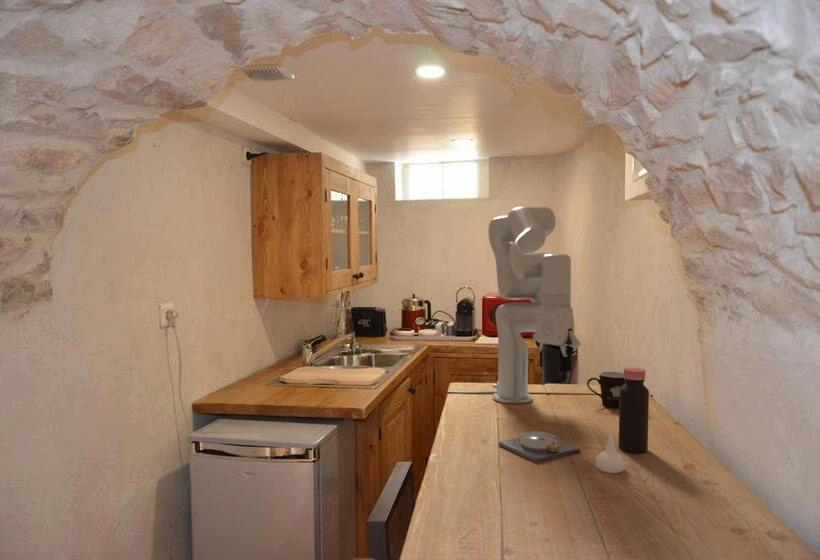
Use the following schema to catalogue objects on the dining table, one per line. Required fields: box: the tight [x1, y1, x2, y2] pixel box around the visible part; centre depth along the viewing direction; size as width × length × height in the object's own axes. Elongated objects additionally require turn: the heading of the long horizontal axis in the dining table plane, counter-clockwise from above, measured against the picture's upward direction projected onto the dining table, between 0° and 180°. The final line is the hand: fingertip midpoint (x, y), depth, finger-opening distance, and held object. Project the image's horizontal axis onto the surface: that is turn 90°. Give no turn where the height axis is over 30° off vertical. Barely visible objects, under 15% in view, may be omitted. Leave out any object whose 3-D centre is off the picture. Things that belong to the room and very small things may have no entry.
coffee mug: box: [586, 371, 625, 410], centre depth 187 cm, size 12×9×10 cm
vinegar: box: [618, 367, 650, 454], centre depth 147 cm, size 7×7×20 cm
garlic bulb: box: [595, 434, 626, 474], centre depth 135 cm, size 6×6×8 cm
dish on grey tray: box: [498, 430, 581, 464], centre depth 148 cm, size 14×14×3 cm
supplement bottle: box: [541, 344, 570, 384], centre depth 156 cm, size 7×7×12 cm
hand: (555, 368), depth 157 cm, fingers closed on supplement bottle, 6 cm apart
